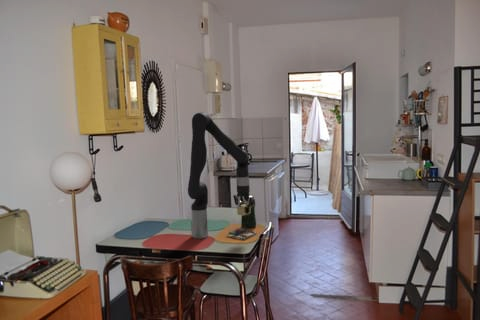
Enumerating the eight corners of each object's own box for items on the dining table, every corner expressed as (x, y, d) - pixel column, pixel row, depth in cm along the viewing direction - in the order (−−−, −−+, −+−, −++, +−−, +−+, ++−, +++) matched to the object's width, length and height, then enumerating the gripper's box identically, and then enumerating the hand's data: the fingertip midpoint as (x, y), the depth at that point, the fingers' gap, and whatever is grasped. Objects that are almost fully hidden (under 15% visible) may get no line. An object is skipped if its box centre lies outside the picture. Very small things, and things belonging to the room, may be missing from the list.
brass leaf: (237, 214, 234) (237, 206, 234) (244, 211, 240) (244, 203, 239) (243, 215, 231) (243, 207, 231) (250, 212, 237) (250, 204, 236)
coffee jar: (257, 224, 264) (256, 197, 262) (254, 228, 256) (253, 200, 254) (243, 224, 267) (242, 196, 264) (240, 227, 259) (238, 199, 257)
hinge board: (226, 236, 241) (226, 230, 241) (239, 230, 252) (239, 225, 251) (244, 240, 234) (244, 234, 233) (256, 234, 244) (256, 228, 244)
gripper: (229, 184, 235) (230, 212, 237) (249, 186, 226) (250, 215, 228) (237, 182, 241) (238, 210, 243) (256, 184, 232) (257, 212, 234)
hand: (244, 212), depth 235 cm, fingers closed on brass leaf, 4 cm apart
